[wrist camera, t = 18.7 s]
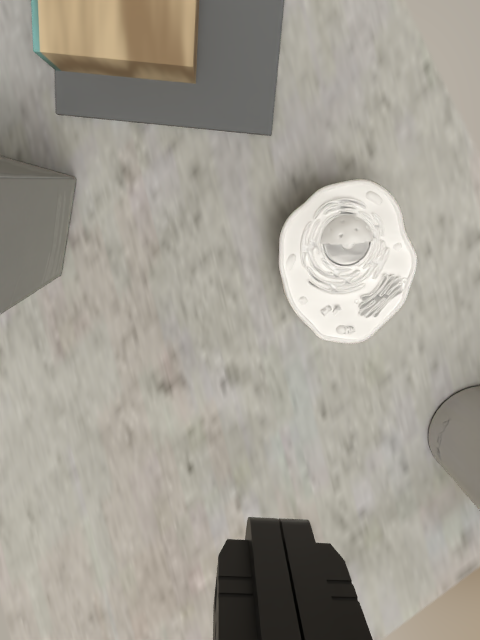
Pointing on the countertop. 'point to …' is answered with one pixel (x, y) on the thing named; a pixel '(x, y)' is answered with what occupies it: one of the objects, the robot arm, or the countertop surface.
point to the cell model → (346, 260)
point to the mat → (211, 77)
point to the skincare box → (31, 228)
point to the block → (119, 37)
